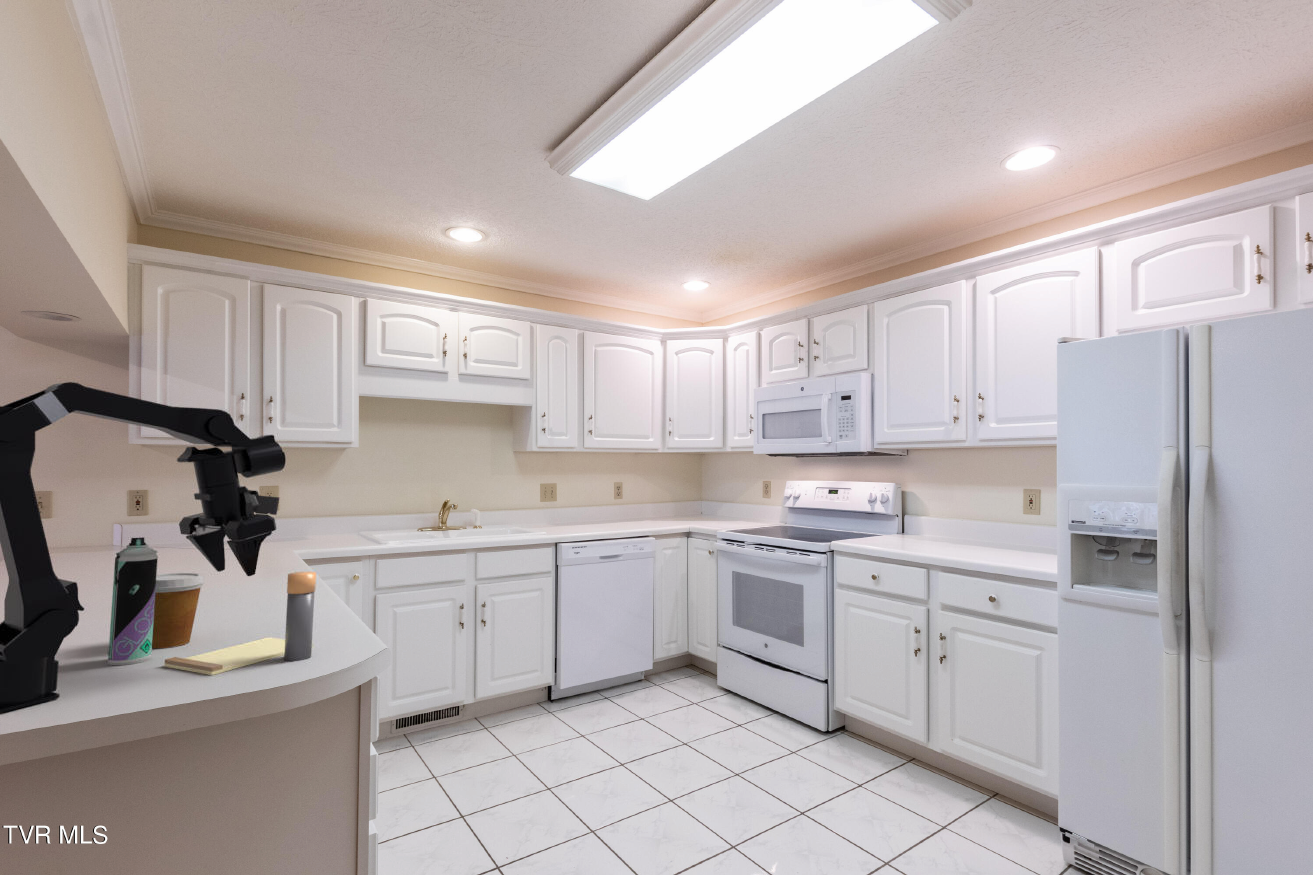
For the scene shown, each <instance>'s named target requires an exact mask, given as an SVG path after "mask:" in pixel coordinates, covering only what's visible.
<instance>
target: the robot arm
mask: <svg viewBox="0 0 1313 875" xmlns="http://www.w3.org/2000/svg"><path fill="white" fill-rule="evenodd" d="M71 413H75V414H77V415H78V414H79V415H83V416H89V417H94V418H99V419H105V420H110V421H115V422H120V423H124V424H129V425H133V426H134V425H135V426H140V427H145V428H150V429H154V430H158V431H161V432H163V433H166V434H167V435H169V436H171V437H173V438H175V439H179V440H182V441H184V442H187V443H190V444H193V445H210V446H212V447H209V448H202V449H199V448H197V447H196V446H187V447H185V450H184V451H183V452H182V453H181V454H180V456H178V457H177V459H176V461H177V462H178V463H193V468H194V473H195V478H196V483H197V490H198V492H195V493H193V497H194V500H195V501H197V500H198V501H200V503H201V507H202V508H201V509H202V512H201V513H196V514H192V515H186V516H183V518H182V519H181V520H180V521H179V523H178V526H179V532H180V535H183V536H184V535H185V538H186V539H187V540H188V541H190V542H191V544H192V545H194V547H195V548H196V549H197V550H198V551H199V552H200V554H202V556H204V558H205V559H206V560H207V561H208V562H209V564H211V566H212V567H213V569H215V570H216V572H220V573H221V572H223V571H225V569H226V558H225V555H226V554H225V553H226V552H225V540H224V539H225V537H227V538H228V540H226V543H227V545H228V547H229V549H230V550H231V552H232V553H233V555H234V557H235V559H236V560H237V562H238V564H239V565H240V567H241V568H242V570H243V572H244V573H245V575H246V576H247V577H251V576H255V574H256V571H257V565H258V560H259V556H260V549H261V546H262V544H263V542H264V541H265V539H266V538H267V537H269V536H271V535H272V534H273V532H274V531H276V530H277V523H276V519H275V518H274V517H273V516H271V515H274V516H276V515H278V514H277V513H278V508H279V503H280V496H279V497H278V496H270V495H269V496H268V495H260V493H259V491H258V490H252V489H249V488H248V487H247V486H246V485H241V484H240V480H239V475H238V474H241V476H242V477H244V478H246V479H247V478H253V477H254V478H255V477H258V476H262V475H268V474H272V473H277V472H278V473H279V472H281V471H283V469H284V468H285V466H286V452H284V450H283V448H282V446H281V445H280V444H279V442H277V441H276V439H275V435H274V434H267V435H265V434H264V435H260V436H257V437H254V438H253V437H252V438H250V437H249V436H248V435H246V433H245V432H244V431H242V430H241V429H240V428H239V427H238V426H237V425H236V424H235V421H234V420H233V419H234V418H232V416H231V414H230V413H229V412H227V411H225V410H222V409H216V408H215V409H214V408H202V407H184V406H183V407H182V406H172V405H167V404H163V403H158V402H153V401H150V400H145V399H141V398H136V397H132V396H127V395H125V394H124V395H123V394H120V393H114V392H110V391H106V390H101V389H97V388H92V387H89V386H85V385H82V384H81V383H78V382H72V381H68V382H66V381H65V382H61V383H55V384H52V385H49V386H48V387H46V388H45V389H43V390H40V391H38V392H35V393H33V394H31V395H28V396H25V397H23V398H20V399H17V400H15V401H12V402H9V403H7V404H4V405H1V406H0V548H1V551H2V556H3V561H4V564H5V568H6V572H7V576H8V585H7V589H6V592H5V595H4V596H5V598H4V609H3V611H4V614H3V615H4V616H3V617H4V618H3V619H4V620H3V621H1V622H0V713H4V712H10V711H12V710H13V711H14V710H17V709H20V708H24V707H28V706H31V705H36V704H39V703H40V704H41V703H44V702H47V701H50V700H56V699H59V698H60V696H61V695H60V693H58V692H56V691H57V688H58V677H59V676H58V674H59V663H60V661H59V660H57V659H56V656H57V653H58V651H59V650H60V647H61V646H62V643H63V641H64V639H66V637H68V636H69V635H71V634H72V632H73V631H74V629H75V628H76V627H77V626H78V624H79V622H80V614H79V611H80V612H83V611H85V607H83V605H82V604H81V603H80V600H79V587H78V583H77V582H76V581H71V580H66V579H61V578H58V576H57V575H56V573H55V571H54V568H53V563H52V559H51V555H50V550H49V546H48V542H47V538H46V533H45V529H44V525H43V521H42V516H41V512H40V508H39V504H38V499H37V495H36V492H35V486H34V483H33V479H32V472H31V470H32V466H33V463H34V458H35V453H36V432H38V431H39V430H42V429H45V428H46V427H49V426H50V425H53V424H54V423H56V422H58V421H60V420H61V419H63V418H64V417H66V416H68V415H69V414H71ZM221 448H231V449H230V450H226V451H223V450H222V449H221Z"/></svg>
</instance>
